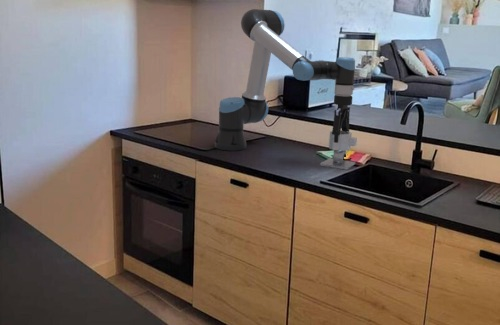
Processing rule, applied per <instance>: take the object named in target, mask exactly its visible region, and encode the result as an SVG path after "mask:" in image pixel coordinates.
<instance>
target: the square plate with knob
mask: <svg viewBox="0 0 500 325" xmlns="http://www.w3.org/2000/svg"><path fill="white" fill-rule="evenodd" d="M332 155H333V157H332V158H330V157H329V158H327V159H325V160H324V161H322V162H319V166H320V167H321V166H322V167H327V168H333V169H341V170H349V169H350V168H352V167H353V166H354V165H356V161H352V160H343V159H344V151H339V150H333V154H332Z"/></svg>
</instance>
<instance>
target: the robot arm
mask: <svg viewBox="0 0 500 325" xmlns="http://www.w3.org/2000/svg"><path fill="white" fill-rule="evenodd" d="M240 25H241V30H242V32H243V33H244V34H245V36H247V37H248V38H249V39H250V40H252V41H253V42H254V43H253V47H252V48H253V49H252V55H251V61H250V65H249V66H250V67H249V73H248V78H247V79H248V80H247V84H246V90H245V91H244V92H243V93H242V95H241V96H240V97H238V96H234V97H226V98H223V99H222V100H220V101H219V108H218V133H217V136H216V138H215V140H214V148H215V149H217V150H221V151H230V152H231V151H233V152H234V151H242V150H246V149H247V141H246V137H245V133H244V125H247V124H256V123H259V122H262V121H263V120H265V119H266V118H267V116H268V113H269V105H268V102H267V101H266V99H267V97H266V96H265V95H264V93H265V88H266V83H267V82H266V81H267V78H268V73H269V72H268V71H269V67H270V60H271V56H272V55H273V56H274V57H276V58H277V59H278V60H280V61H281V62H282V63H283V64H284V65H285V66H287V67H288V68H289V69H290V70H291V71H292V75H293V76H294V78H295V79H296V80H299V81H302V82H303V81H304V82H305V81H313V80H315V81H316V80H331V81H333V80H334V82H335V83H334V97H333V104H334V105H336V106H337V108H336V109H334V111H333V112H334V115H333V116H334V117H333V124H332V134H333V135H334V139H333V151H334V150H339V149H340V136H341V135H340V131H348V132H350V111H351V107H349V106H352V104H353V94H354V90H355V87H354V82H355V71H356V60H355V58H354V57H345V56H344V57H342V56H341V57H337V58H336V61H332V60H331V61H330V60H329V61H328V60H323V59H322V60H320V59H319V60H314V61H313V60H309V58H307V57H306V56H304V55H303V54H302V53H301V52H299V51H298V50H297V49H296V48H295V47H294V46H292V45H291V44H290V43H288V42H287V40H285V39H284V38H282V37H281V35H282V34H283V33H284V31H285V20H284V17H283V16H282V15H281V13H280V12H278V11H276V10H272V9H271V10H270V9H260V8H259V9H258V8H251V9H249V10H247V11H246V12H245V13H243V15H242V17H241V20H240ZM271 54H272V55H271Z"/></svg>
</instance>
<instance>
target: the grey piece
mask: <svg viewBox="0 0 500 325" xmlns="http://www.w3.org/2000/svg"><path fill="white" fill-rule="evenodd" d="M340 135H341V136H340V149H339V151H346V152H347V151H350V150H351V147H356V146H357V142H358V138H357V137H352V132H350V131H349V132H348V131H342V130H341V131H340ZM328 139H329V144H328V148H329V149H330V150H331V151H332V150H333V139H334V135H333V134H332V131H329V138H328ZM333 151H334V150H333Z"/></svg>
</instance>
